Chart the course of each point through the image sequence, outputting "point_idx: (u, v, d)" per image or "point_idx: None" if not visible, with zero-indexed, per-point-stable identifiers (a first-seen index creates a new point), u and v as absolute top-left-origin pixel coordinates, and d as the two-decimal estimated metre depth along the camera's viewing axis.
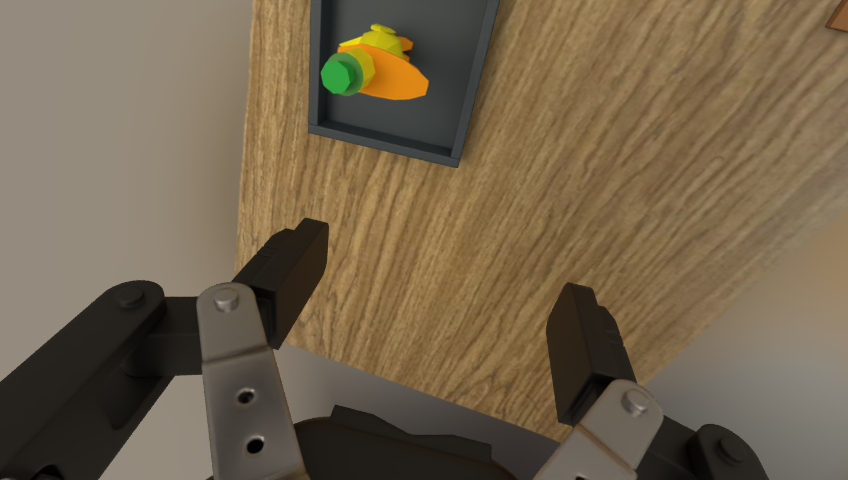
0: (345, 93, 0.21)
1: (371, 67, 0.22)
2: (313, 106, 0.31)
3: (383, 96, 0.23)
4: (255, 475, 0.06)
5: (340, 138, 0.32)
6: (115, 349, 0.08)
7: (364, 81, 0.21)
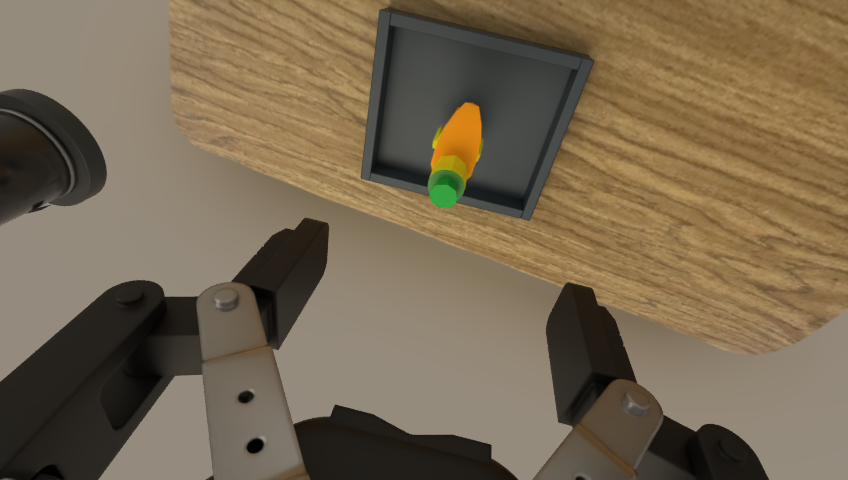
0: (462, 188, 0.23)
1: (448, 158, 0.24)
2: (504, 210, 0.33)
3: (477, 149, 0.24)
4: (255, 475, 0.06)
5: (539, 191, 0.32)
6: (115, 349, 0.08)
7: (454, 168, 0.23)
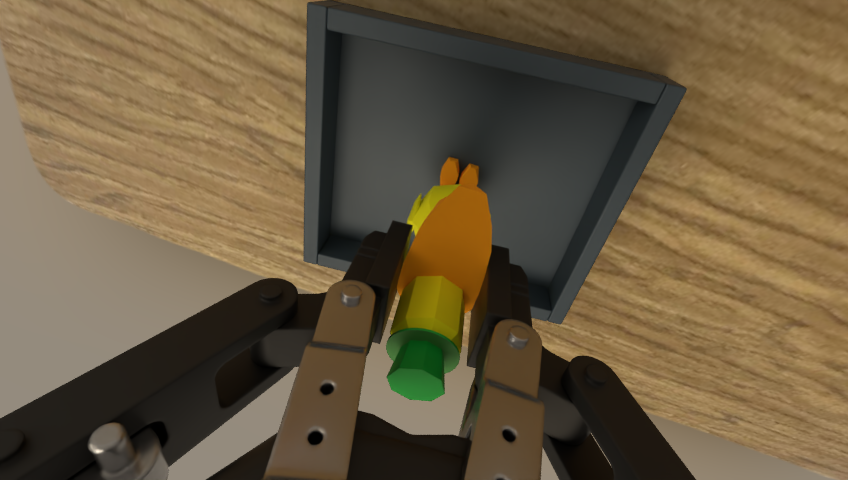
0: (455, 358, 0.11)
1: (427, 286, 0.12)
2: None
3: (483, 269, 0.12)
4: (303, 465, 0.06)
5: (577, 286, 0.20)
6: (240, 338, 0.08)
7: (438, 319, 0.11)
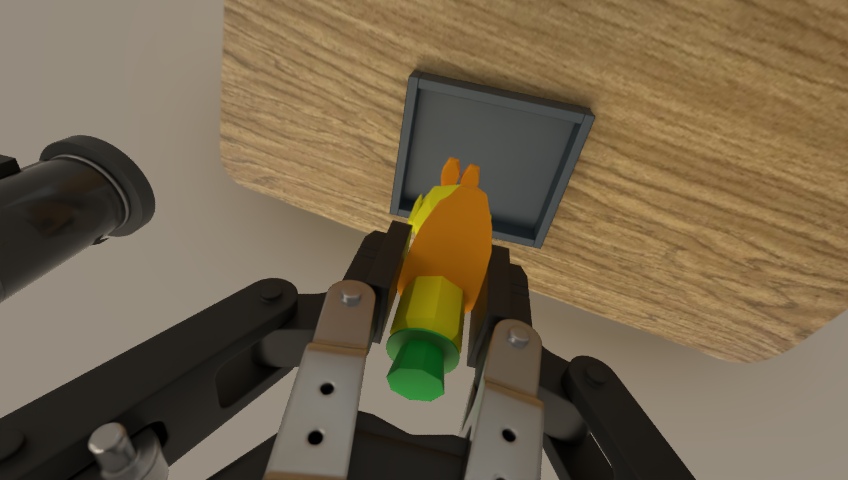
0: (455, 358, 0.11)
1: (428, 286, 0.12)
2: (518, 240, 0.37)
3: (484, 269, 0.12)
4: (303, 465, 0.06)
5: (548, 224, 0.36)
6: (240, 338, 0.08)
7: (438, 320, 0.11)
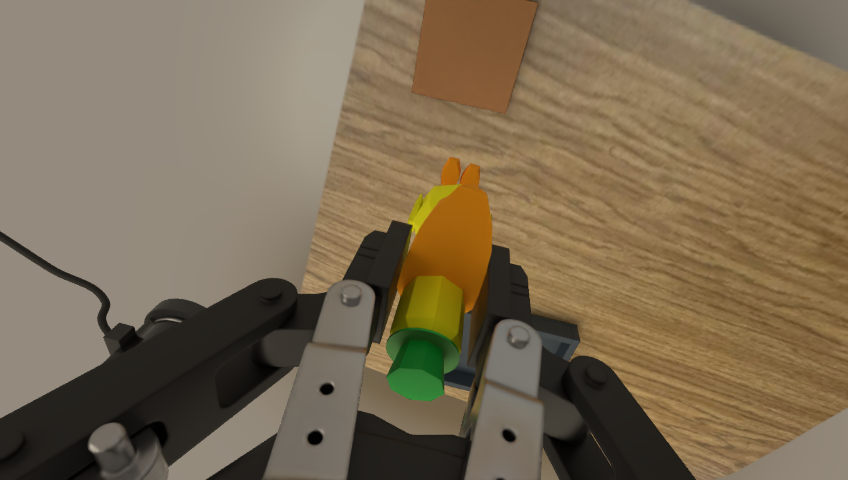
0: (455, 358, 0.11)
1: (428, 286, 0.12)
2: None
3: (484, 269, 0.12)
4: (303, 465, 0.06)
5: None
6: (240, 338, 0.08)
7: (438, 319, 0.11)
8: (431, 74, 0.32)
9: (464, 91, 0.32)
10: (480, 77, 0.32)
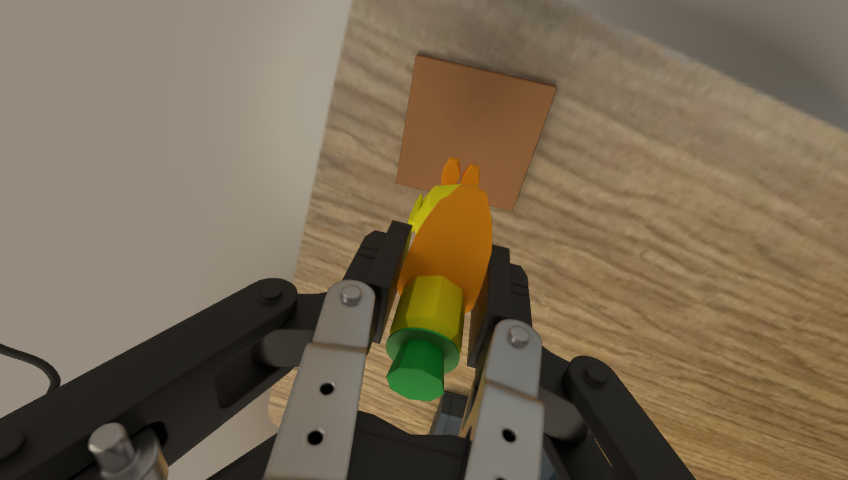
0: (454, 358, 0.11)
1: (428, 286, 0.12)
2: None
3: (484, 268, 0.12)
4: (303, 465, 0.06)
5: None
6: (240, 338, 0.08)
7: (438, 319, 0.11)
8: (420, 164, 0.26)
9: None
10: (481, 170, 0.25)
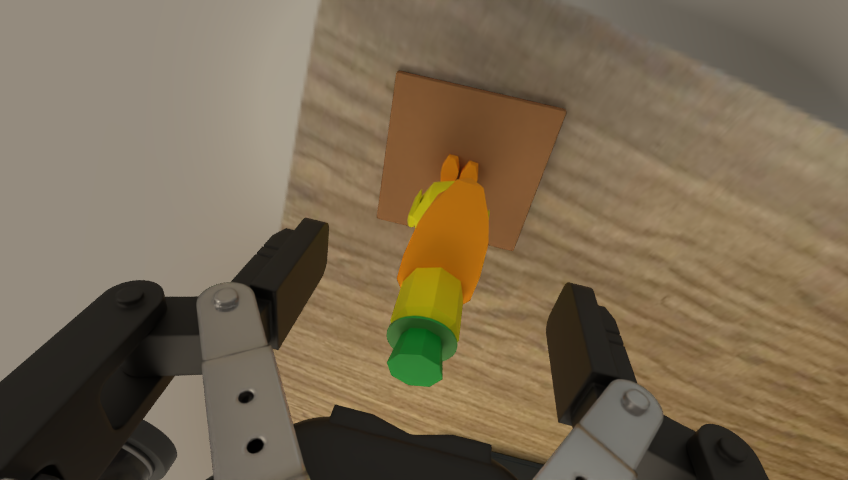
0: (452, 346, 0.12)
1: (427, 277, 0.13)
2: None
3: (481, 260, 0.13)
4: (255, 475, 0.06)
5: None
6: (115, 349, 0.08)
7: (436, 308, 0.12)
8: (404, 198, 0.22)
9: None
10: None
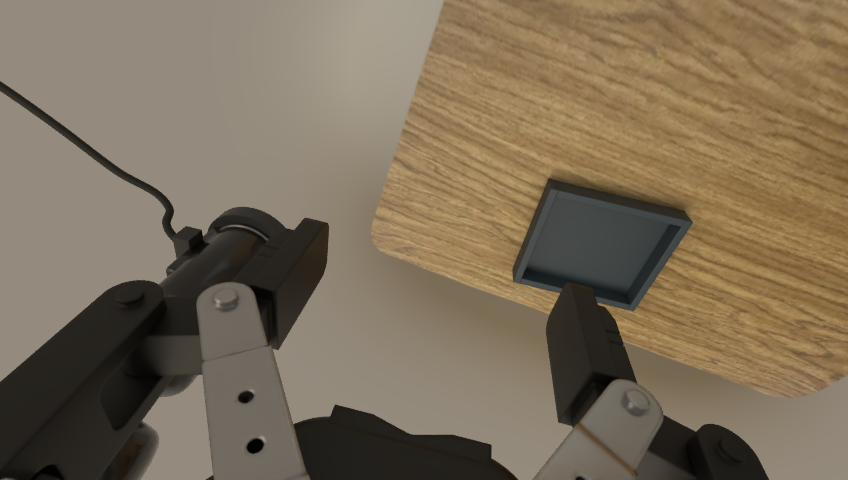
0: None
1: None
2: (616, 304, 0.47)
3: None
4: (255, 475, 0.06)
5: (643, 293, 0.45)
6: (115, 349, 0.08)
7: None
8: None
9: None
10: None
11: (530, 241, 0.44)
